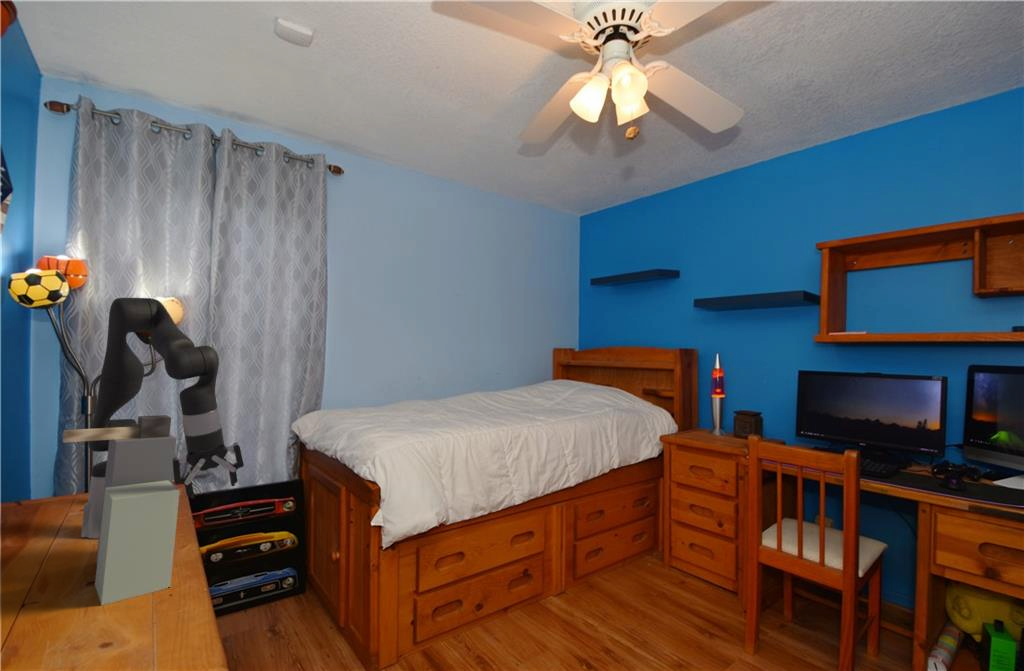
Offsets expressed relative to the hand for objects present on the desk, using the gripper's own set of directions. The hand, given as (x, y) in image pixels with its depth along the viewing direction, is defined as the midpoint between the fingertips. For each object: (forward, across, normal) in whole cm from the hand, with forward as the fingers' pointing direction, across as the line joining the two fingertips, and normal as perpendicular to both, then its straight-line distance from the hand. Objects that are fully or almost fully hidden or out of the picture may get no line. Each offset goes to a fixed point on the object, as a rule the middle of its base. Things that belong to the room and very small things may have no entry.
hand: (213, 490), depth 114 cm
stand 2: (+17, +18, 0) cm, 25 cm away
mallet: (-13, +17, -19) cm, 28 cm away
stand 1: (+19, +19, -15) cm, 31 cm away
